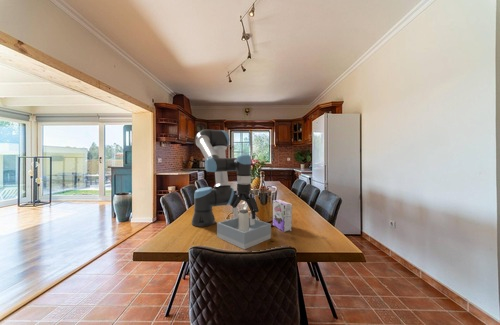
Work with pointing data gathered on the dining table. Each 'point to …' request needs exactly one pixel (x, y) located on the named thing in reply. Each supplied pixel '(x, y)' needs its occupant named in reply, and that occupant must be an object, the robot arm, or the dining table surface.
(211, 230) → the dining table surface
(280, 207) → the candy box
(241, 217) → the connector
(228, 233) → the walled box
